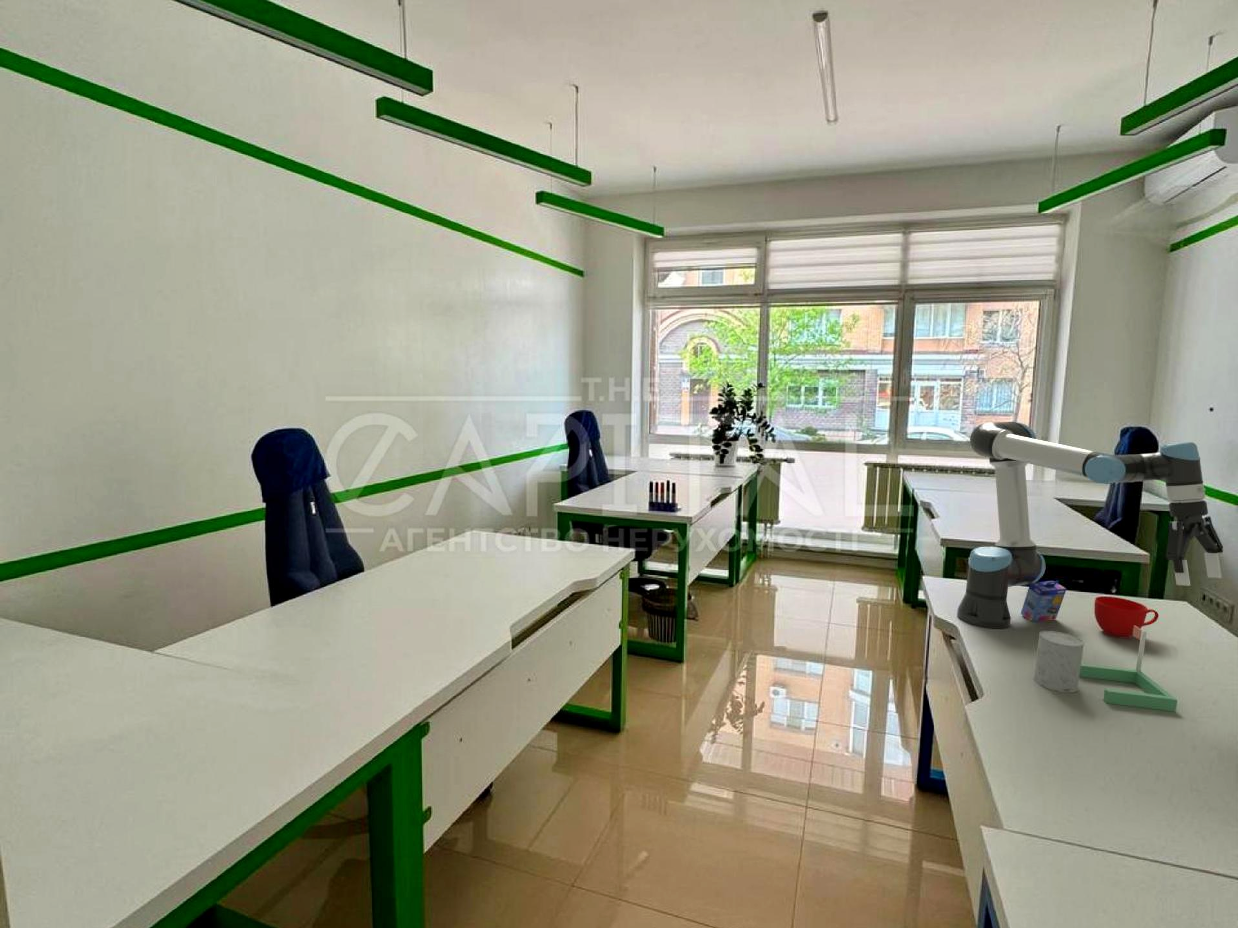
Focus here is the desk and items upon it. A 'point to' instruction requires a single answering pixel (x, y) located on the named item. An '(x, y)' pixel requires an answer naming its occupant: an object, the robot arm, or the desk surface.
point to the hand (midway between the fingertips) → (1199, 581)
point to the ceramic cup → (1120, 616)
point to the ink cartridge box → (1043, 601)
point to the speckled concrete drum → (1058, 661)
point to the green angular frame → (1155, 693)
